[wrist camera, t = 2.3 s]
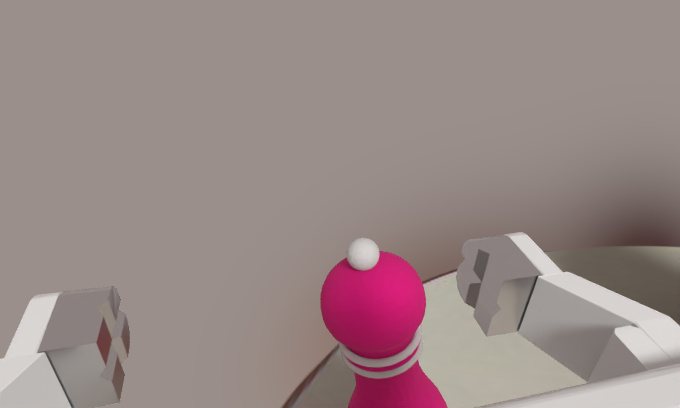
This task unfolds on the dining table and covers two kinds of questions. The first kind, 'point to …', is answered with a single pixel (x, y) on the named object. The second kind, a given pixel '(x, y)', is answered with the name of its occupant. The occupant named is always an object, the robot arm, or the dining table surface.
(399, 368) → the pepper mill
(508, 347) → the dining table surface
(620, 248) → the dining table surface
